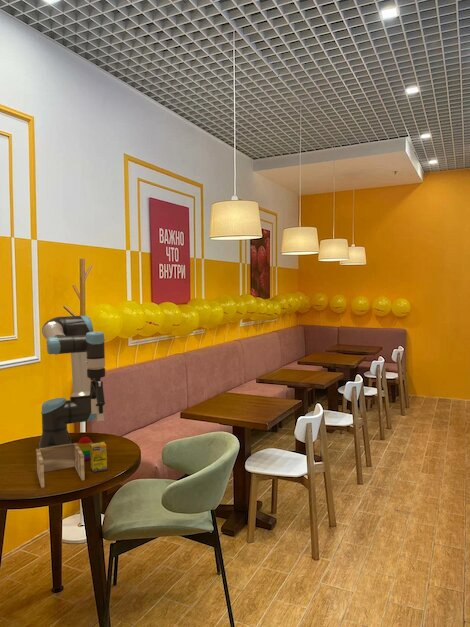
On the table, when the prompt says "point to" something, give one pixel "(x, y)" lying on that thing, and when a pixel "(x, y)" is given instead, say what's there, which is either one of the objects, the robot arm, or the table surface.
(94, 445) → the supplement box
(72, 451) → the brown wooden frame
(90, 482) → the table surface
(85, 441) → the decorative egg
